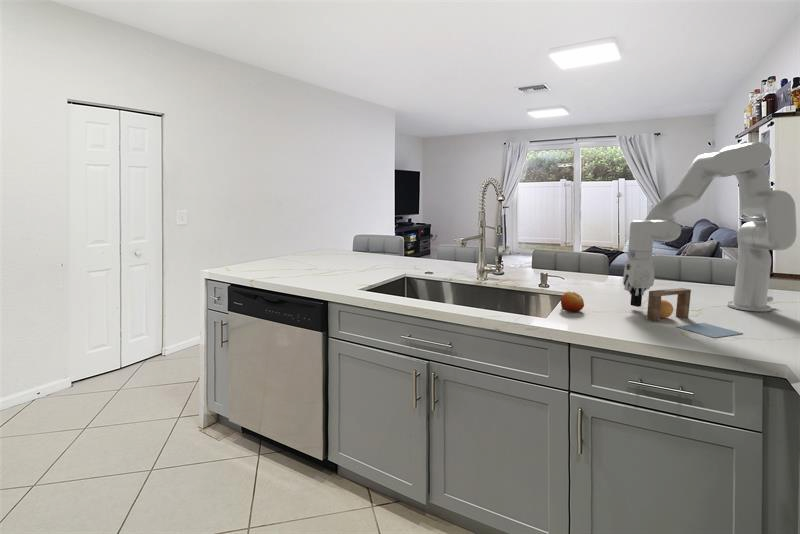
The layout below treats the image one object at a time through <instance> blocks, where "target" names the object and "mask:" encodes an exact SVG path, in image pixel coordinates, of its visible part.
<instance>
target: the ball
mask: <svg viewBox="0 0 800 534" xmlns="http://www.w3.org/2000/svg"><path fill="white" fill-rule="evenodd" d="M673 313H674V307H673V304H672V303H671V302H670V301H668V300H664V299H661V306H660V318H662V319H666V318H669V317H671V316H672V314H673ZM660 318H659V319H660Z"/></svg>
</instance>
